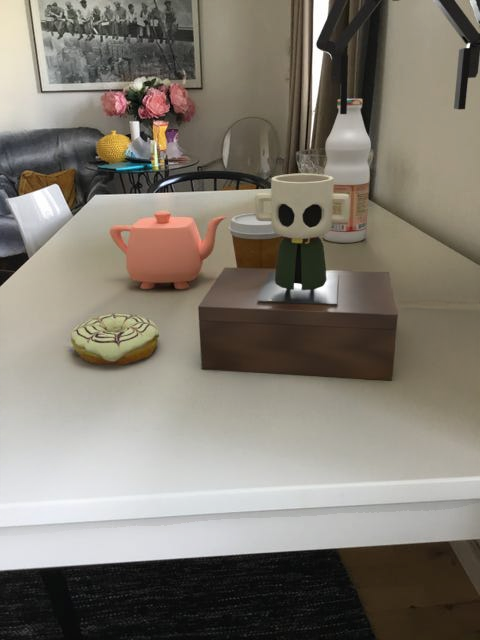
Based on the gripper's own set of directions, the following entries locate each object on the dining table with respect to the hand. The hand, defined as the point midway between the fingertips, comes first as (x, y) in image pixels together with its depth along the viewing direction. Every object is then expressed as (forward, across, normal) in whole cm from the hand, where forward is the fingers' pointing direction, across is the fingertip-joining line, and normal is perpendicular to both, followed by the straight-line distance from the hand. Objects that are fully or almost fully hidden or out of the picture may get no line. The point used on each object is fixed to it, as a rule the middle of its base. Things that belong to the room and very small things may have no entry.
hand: (400, 111), depth 68 cm
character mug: (+19, -12, -9) cm, 24 cm away
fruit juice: (+28, -5, +47) cm, 54 cm away
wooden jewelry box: (+27, -12, -9) cm, 31 cm away
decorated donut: (+27, -35, -13) cm, 46 cm away
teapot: (+27, -35, +15) cm, 47 cm away
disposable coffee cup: (+27, -19, +11) cm, 35 cm away
